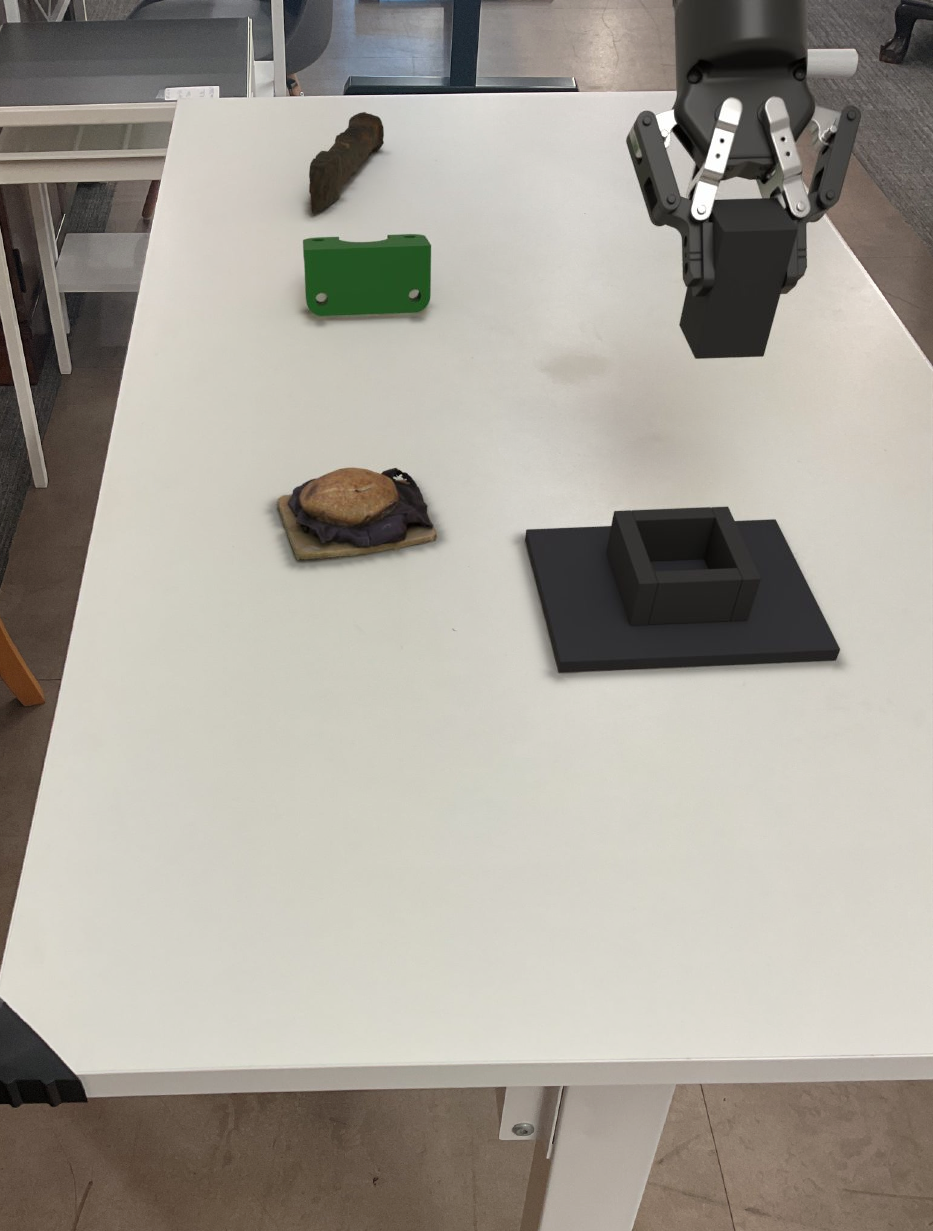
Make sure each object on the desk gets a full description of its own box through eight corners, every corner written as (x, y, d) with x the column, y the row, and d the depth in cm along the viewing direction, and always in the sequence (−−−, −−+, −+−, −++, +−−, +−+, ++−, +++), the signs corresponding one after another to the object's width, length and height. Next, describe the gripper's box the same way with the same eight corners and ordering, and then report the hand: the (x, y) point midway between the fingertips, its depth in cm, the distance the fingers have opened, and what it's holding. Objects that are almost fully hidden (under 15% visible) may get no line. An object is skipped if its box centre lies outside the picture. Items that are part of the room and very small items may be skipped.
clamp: (402, 336, 114) (441, 241, 109) (408, 352, 109) (449, 253, 104) (284, 288, 111) (319, 188, 106) (285, 302, 106) (322, 198, 101)
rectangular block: (745, 323, 78) (777, 197, 72) (763, 356, 75) (798, 228, 69) (678, 325, 78) (705, 199, 72) (695, 359, 75) (723, 230, 69)
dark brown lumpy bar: (351, 146, 134) (350, 102, 131) (384, 151, 133) (384, 105, 130) (287, 215, 122) (285, 167, 119) (324, 220, 121) (322, 172, 118)
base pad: (772, 530, 86) (789, 476, 82) (836, 660, 76) (858, 606, 73) (524, 540, 85) (531, 486, 82) (558, 673, 76) (567, 619, 72)
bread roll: (296, 569, 83) (294, 525, 80) (274, 500, 89) (271, 457, 86) (442, 546, 85) (444, 503, 82) (411, 479, 90) (412, 437, 87)
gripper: (637, -38, 67) (645, 271, 68) (887, -44, 67) (891, 264, 68) (605, 38, 74) (612, 315, 75) (830, 32, 75) (834, 308, 76)
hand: (745, 289), depth 72 cm, fingers closed on rectangular block, 4 cm apart
